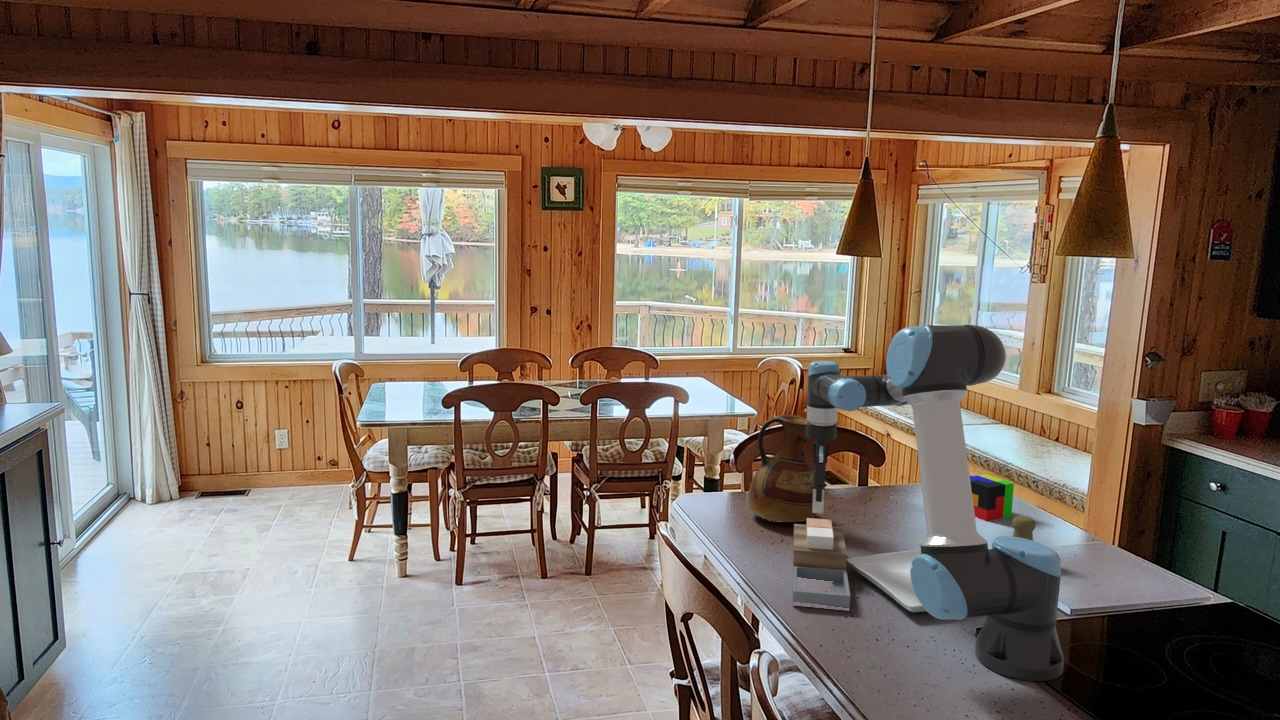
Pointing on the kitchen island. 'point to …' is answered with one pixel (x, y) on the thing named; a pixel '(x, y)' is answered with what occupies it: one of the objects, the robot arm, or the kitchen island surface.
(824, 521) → the terracotta tile
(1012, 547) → the robot arm
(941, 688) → the kitchen island surface
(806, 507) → the ceramic pitcher
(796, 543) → the brushed bronze panel
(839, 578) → the bin
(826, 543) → the cream tile
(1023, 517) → the cork
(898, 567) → the square plate
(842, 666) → the kitchen island surface
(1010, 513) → the puzzle toy
